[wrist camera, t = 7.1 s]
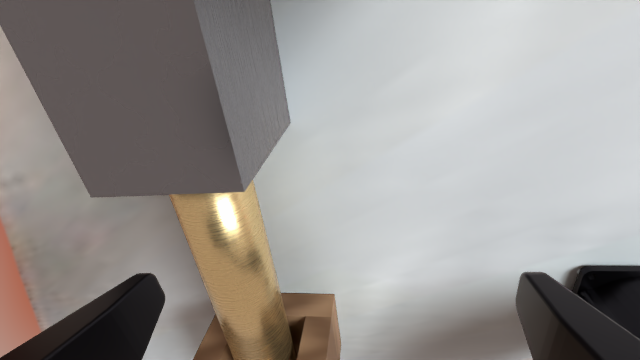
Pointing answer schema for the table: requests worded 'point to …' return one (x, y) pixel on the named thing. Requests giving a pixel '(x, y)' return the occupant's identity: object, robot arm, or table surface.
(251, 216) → the tube
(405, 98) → the table surface
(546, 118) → the table surface
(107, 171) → the sleeve
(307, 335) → the socket cradle
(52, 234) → the table surface
